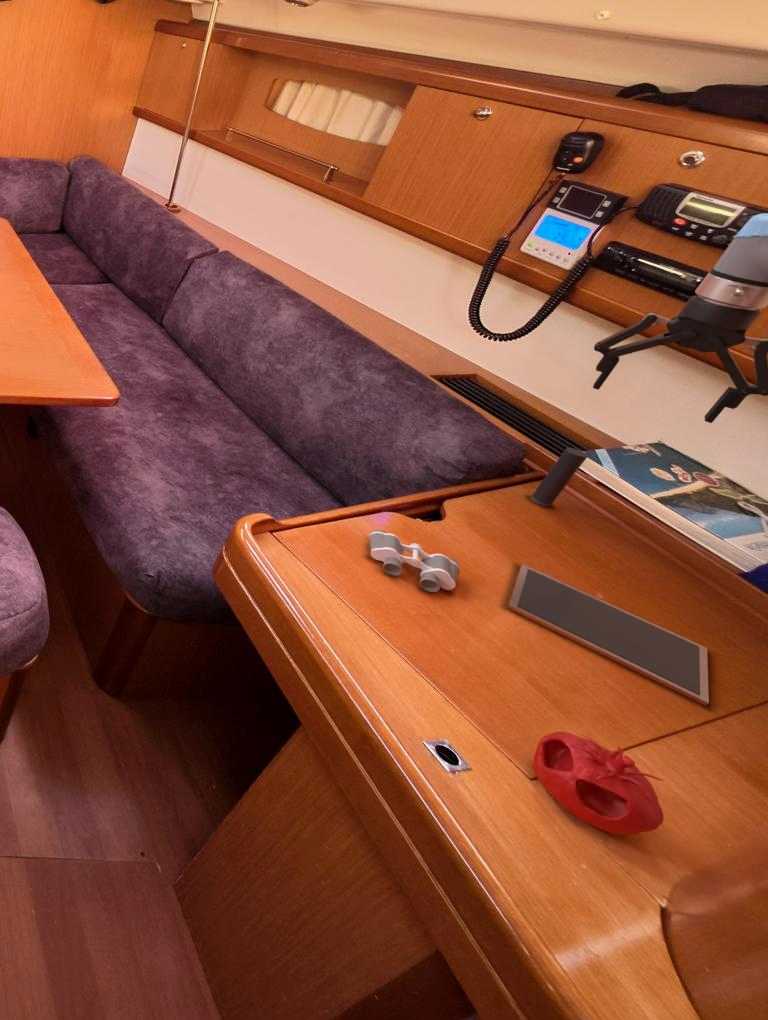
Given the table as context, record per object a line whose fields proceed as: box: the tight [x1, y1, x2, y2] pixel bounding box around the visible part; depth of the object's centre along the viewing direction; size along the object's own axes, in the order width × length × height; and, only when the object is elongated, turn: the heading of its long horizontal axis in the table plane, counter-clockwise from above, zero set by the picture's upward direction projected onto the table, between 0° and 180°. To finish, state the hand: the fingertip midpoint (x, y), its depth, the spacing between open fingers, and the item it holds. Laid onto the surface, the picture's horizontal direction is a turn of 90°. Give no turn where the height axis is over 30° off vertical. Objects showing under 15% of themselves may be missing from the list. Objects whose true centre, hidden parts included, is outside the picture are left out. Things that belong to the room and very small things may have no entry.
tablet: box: [507, 563, 710, 707], centre depth 98 cm, size 20×14×1 cm
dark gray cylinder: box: [531, 447, 589, 507], centre depth 121 cm, size 3×3×13 cm
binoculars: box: [368, 529, 461, 593], centre depth 107 cm, size 12×8×4 cm, turn 47°
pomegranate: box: [532, 730, 665, 835], centre depth 74 cm, size 10×10×9 cm
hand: (649, 402), depth 118 cm, fingers open, 13 cm apart
